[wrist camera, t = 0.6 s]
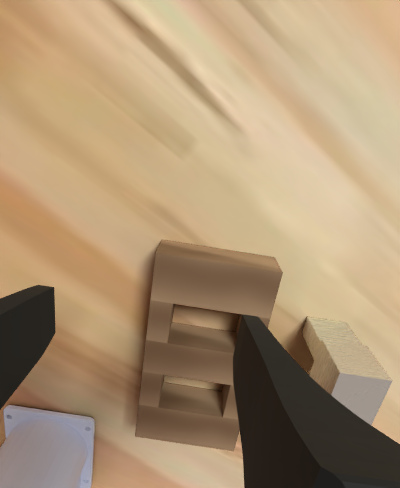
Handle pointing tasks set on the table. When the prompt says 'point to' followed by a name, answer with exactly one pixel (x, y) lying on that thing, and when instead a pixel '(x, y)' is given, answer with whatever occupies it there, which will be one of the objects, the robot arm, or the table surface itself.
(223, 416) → the walnut mortise block
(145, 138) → the table surface
